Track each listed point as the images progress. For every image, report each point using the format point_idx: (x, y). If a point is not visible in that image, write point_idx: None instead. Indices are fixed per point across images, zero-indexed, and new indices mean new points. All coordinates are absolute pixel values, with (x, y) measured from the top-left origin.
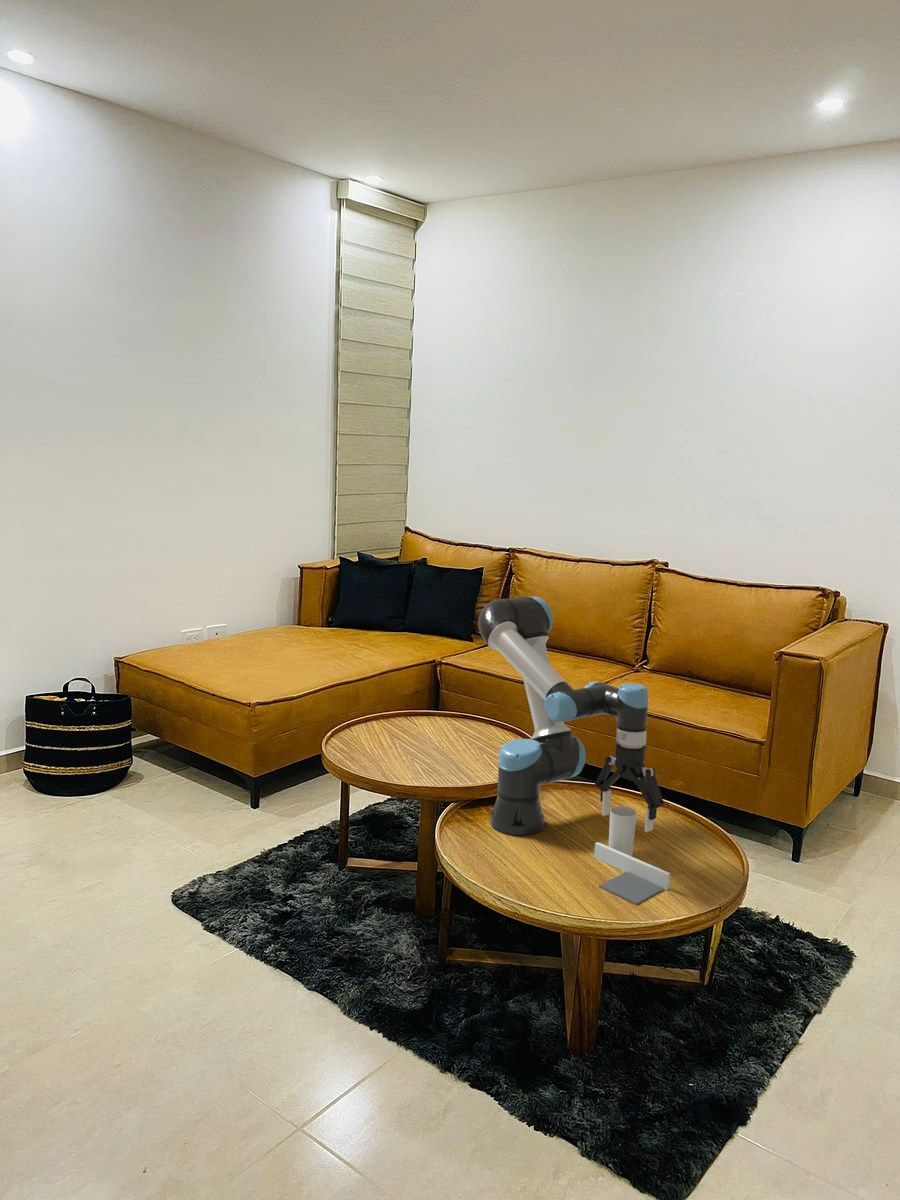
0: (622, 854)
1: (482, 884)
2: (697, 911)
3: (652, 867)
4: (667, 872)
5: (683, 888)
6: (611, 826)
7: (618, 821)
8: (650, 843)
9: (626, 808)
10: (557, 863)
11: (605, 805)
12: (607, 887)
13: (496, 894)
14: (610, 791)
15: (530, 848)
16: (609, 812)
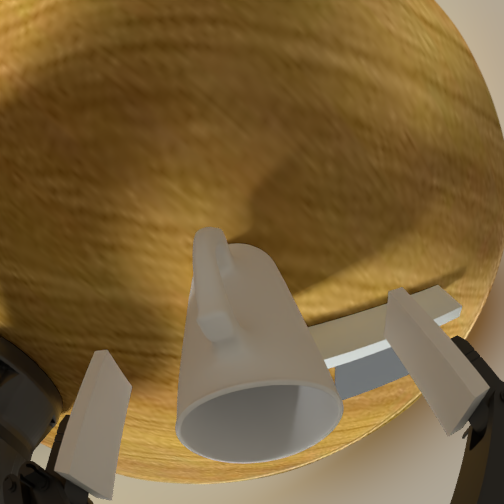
0: (327, 365)
1: (219, 481)
2: (487, 288)
3: None
4: (456, 310)
5: (456, 253)
6: (241, 407)
7: (286, 430)
8: (217, 110)
9: (214, 389)
10: None
11: (117, 426)
12: (351, 393)
13: (252, 478)
14: (76, 472)
15: None
16: (108, 359)
